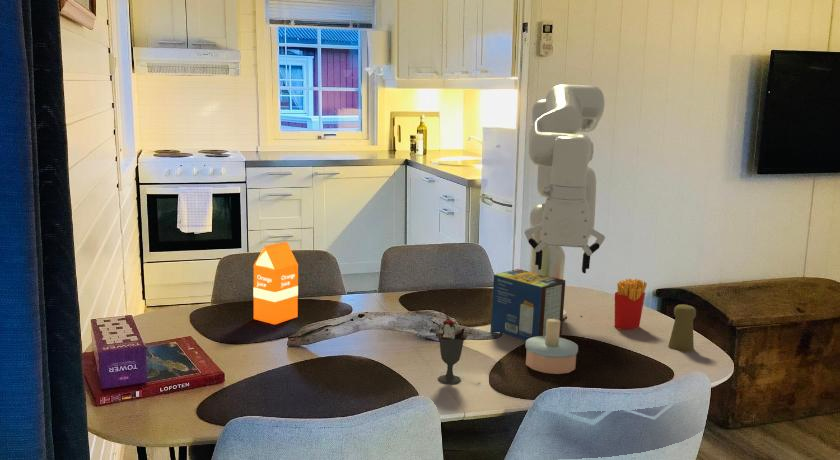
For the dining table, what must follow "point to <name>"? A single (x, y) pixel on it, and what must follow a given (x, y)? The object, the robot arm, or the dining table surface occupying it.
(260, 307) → the orange juice
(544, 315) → the protein box
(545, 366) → the bowl
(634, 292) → the french fries
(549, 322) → the lid
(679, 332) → the cork
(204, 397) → the dining table surface
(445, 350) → the sundae
